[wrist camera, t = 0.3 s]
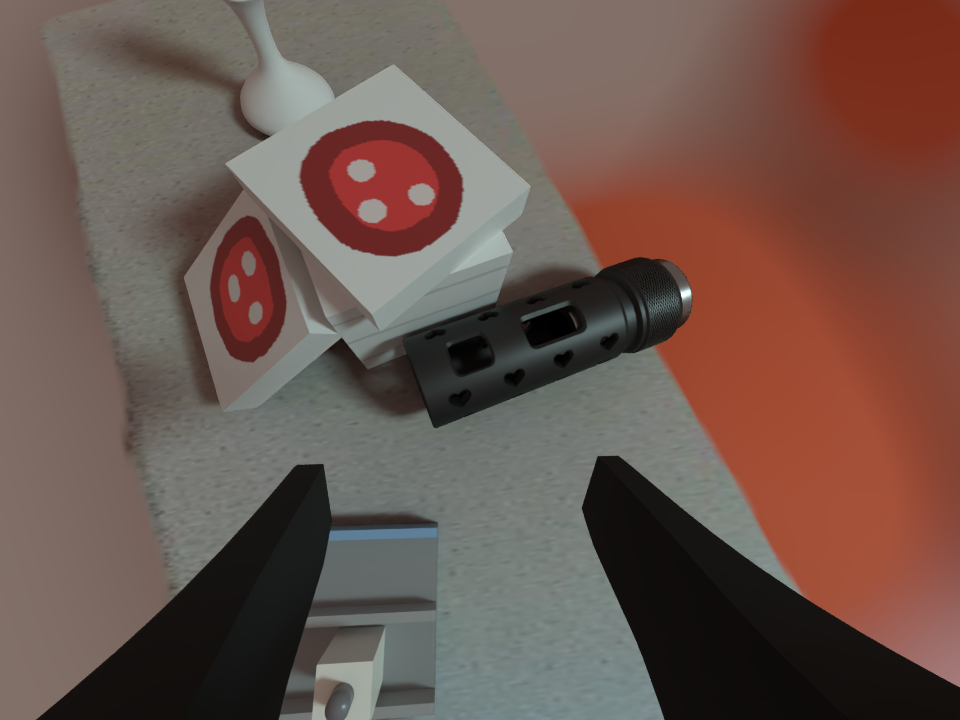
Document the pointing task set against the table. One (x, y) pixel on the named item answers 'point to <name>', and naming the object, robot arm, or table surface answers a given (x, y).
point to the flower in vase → (275, 78)
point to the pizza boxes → (351, 238)
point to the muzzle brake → (547, 337)
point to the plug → (350, 675)
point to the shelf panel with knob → (375, 614)
